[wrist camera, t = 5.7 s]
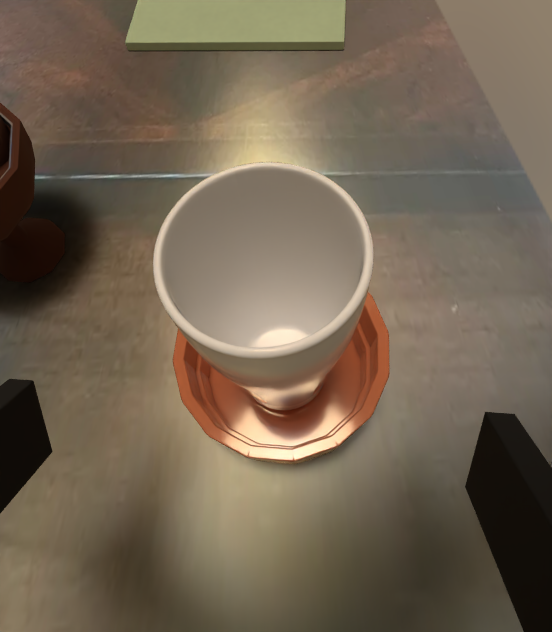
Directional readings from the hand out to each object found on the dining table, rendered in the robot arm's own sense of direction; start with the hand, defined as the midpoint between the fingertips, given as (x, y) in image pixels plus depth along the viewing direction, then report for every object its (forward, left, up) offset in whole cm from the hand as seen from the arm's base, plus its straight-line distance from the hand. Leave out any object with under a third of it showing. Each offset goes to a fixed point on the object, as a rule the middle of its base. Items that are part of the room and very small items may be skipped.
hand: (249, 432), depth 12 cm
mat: (+7, -39, -14) cm, 42 cm away
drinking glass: (0, -5, -13) cm, 14 cm away
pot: (0, -5, -14) cm, 14 cm away
